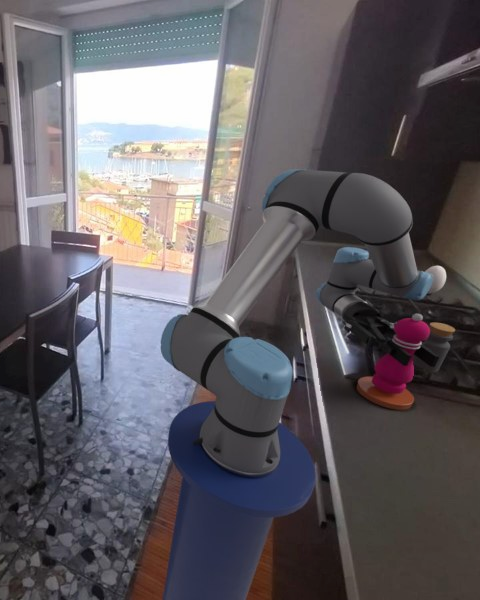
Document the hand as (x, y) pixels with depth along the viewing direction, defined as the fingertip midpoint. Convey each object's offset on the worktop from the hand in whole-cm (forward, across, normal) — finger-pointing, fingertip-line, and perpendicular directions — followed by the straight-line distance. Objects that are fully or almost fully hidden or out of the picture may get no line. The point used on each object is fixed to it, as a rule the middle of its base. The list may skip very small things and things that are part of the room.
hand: (421, 361), depth 78 cm
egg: (-73, -60, -14) cm, 96 cm away
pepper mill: (-5, 0, -11) cm, 12 cm away
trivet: (-5, 0, -14) cm, 15 cm away
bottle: (-15, -15, -14) cm, 25 cm away
